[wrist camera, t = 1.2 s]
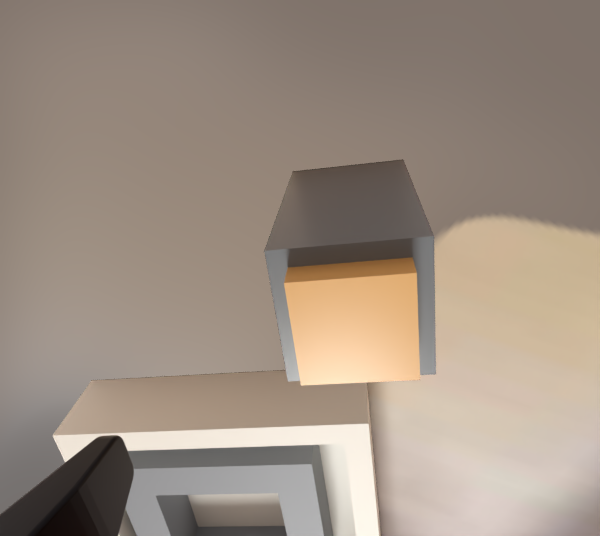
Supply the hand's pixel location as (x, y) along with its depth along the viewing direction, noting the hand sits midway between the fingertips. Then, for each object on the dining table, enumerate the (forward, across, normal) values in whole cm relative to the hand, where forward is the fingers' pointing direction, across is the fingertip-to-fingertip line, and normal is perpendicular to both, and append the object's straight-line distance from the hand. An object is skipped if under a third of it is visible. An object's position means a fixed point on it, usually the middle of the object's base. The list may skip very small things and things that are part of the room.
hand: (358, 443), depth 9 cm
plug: (+11, 0, 0) cm, 11 cm away
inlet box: (+11, +7, +16) cm, 20 cm away
